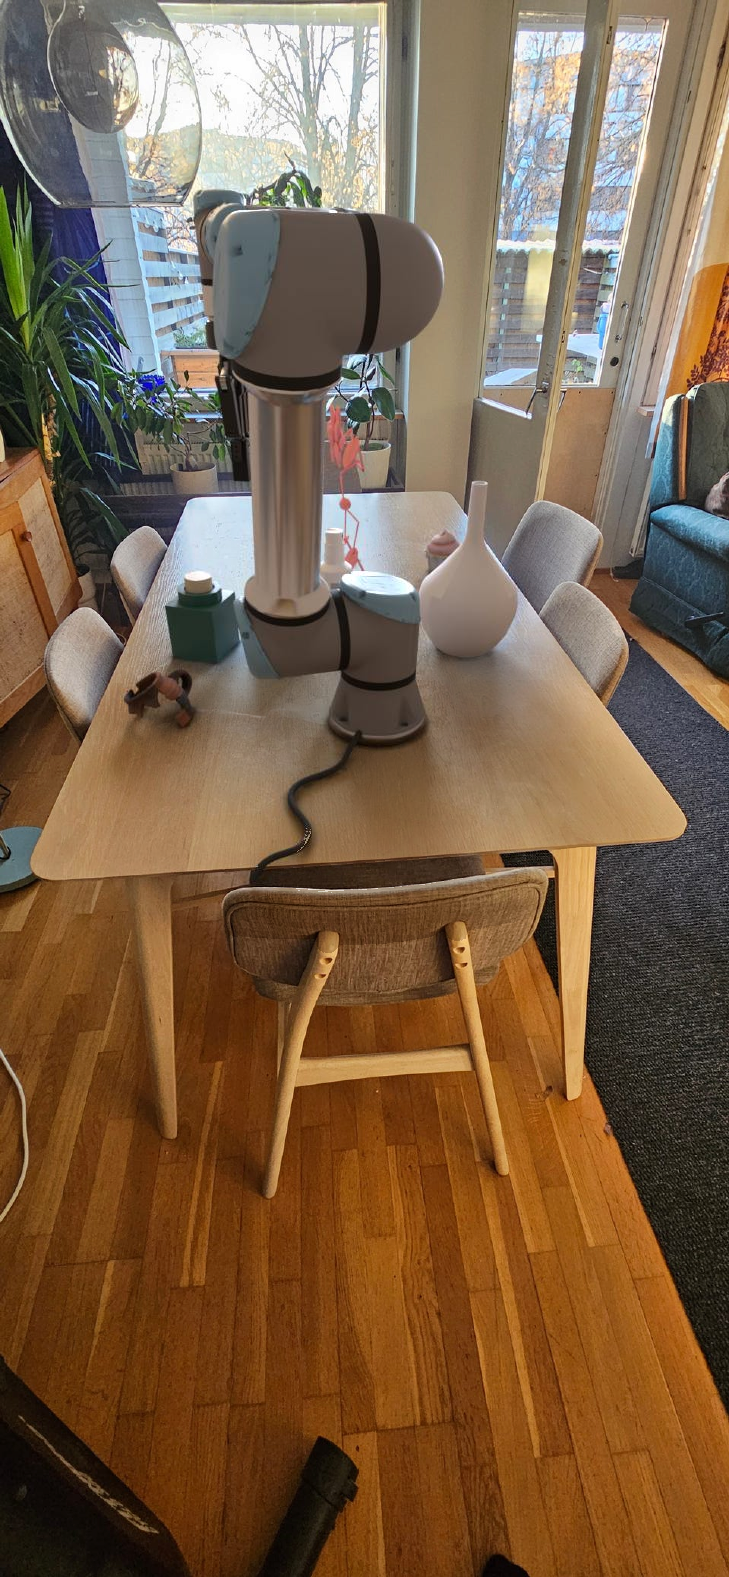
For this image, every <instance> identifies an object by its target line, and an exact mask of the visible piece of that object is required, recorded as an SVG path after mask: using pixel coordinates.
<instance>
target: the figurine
mask: <svg viewBox="0 0 729 1577" xmlns="http://www.w3.org/2000/svg"><path fill="white" fill-rule="evenodd" d="M329 415H330V417H329V418H330V419H329V420H328V421H327V423H326V428H327V429H326V430H327V433H326V435H327V439H328V442H329V444H330V445H329V446H330V447H329V448H330V451H329V453H330V460H331V463H332V464H334V463H335V462H336V464H337V467H338V469H341V467H342V466H343V468H344V469H342V470H341V471H339V472H340V473H339V474H338V475H339V480H340V482H339V483H340V489H341V496H342V498H341V499H340V500H339V501H338V502H339V504H338V505H339V507H340V509H341V510H342V511H344V534H343V539H344V547H345V546H346V545H347V548H348V549H349V550H348V552H347V553H346V554H345V561H346V562H348V563H349V564H350V565H351V566H352V570H353V569H354V568H355V566H356V564H357V565H358V566H359V568H360V571H365V569H364V567H363V565H362V563H361V561H360V558H359V550H358V548H357V547H356V541H357V536H358V532H359V526H360V521H359V520H358V519H357V518H356V516H354V514H353V513H352V512H351V511H350V508H351V506H352V502H351V500H350V499H349V498H348V497H345V495H344V494H345V493H344V483H343V474H345V473H346V472H347V471H349V470H350V469H351V468H353V467H355V466H357V467H358V469H360V471H361V472H362V473H365V466H364V460H363V456H362V450H361V446H360V445H361V443H360V442H361V441H360V440H359V439H360V437H359V436H358V435H355V436H354V433H353V432H354V428H349V430H348V431H346V432H345V433H344V431H343V428H342V414H341V408H340V406H339V405H336V408H335V407H334V405H333V403H332V402H331V403H330V405H329ZM349 435H350V441H349V442H348V440H347V437H348V436H349ZM345 446H346V447H345ZM343 450H344V452H343V455H342V451H343ZM357 456H358V458H359V459H358V458H357ZM347 513H348V514H349V515H350V516H351V517H352V518H353V519H354V520H355V522H356V530H355V533H354V534H355V535H354V540H353V546H351V544H350V542H349V538H350V535H347Z"/></svg>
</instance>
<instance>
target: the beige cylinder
mask: <svg viewBox="0 0 729 1577" xmlns="http://www.w3.org/2000/svg"><path fill="white" fill-rule="evenodd" d="M183 581H184V583H185V588H186V592H188V593H205V592H209V591H212V590H213V585H212V581H213V577H212V574H211V572H208V571H204V570H195V571H190V572H187V573H186V574H184V575H183Z"/></svg>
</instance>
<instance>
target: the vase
mask: <svg viewBox="0 0 729 1577" xmlns="http://www.w3.org/2000/svg"><path fill="white" fill-rule="evenodd" d="M488 485H489V484H488V482H487V481H484V480H474V481H472V482H471V488H470V494H469V501H468V502H469V504H468V511H467V520H466V530H465V535H464V537H463V540H462V541H461V542H460V543H459V545H460V546H459V547H458V548H457V549H456V550H455V551H454V552H453V553H452V554H451V555H450V556H449V557H448V558H447V559H446V560H445V561H444V562H443V563H442V564H441V565H440V566H438V567H437V568H436V569H435V570H434V571H433V572H431V573H430V572H429V574H428V575H426V576H425V577H424V579H423V580H422V581H421V584H420V588H419V591H418V593H419V597H420V617H421V621H420V622H421V624H422V628H423V630H424V631H425V633H426V635H427V637H428V638H429V640H430V641H431V643H432V644H433V645H434V646H435V647H436V648H437V649H438V650H440V651H441V652H442V653H444V654H446V655H449V656H452V657H459V658H476V657H479V656H483V655H485V654H487V653H488V652H490V651H492V650H493V649H494V648H495V647H497V645H499V643H500V642H501V641H502V640H503V639H504V638H505V637H506V635H507V633H508V631H509V629H510V627H511V625H512V623H513V622H514V619H515V618H516V615H517V611H518V606H519V596H518V595H519V594H518V588H517V584H515V582H514V581H513V580H512V579H511V578H510V576H509V575H508V574H507V573H506V572H505V570H504V569H503V567H501V565H500V564H499V562H498V561H497V560H496V559H495V557H494V555H493V554H492V553H491V551H490V550H489V549H488V547H487V544H486V541H485V538H484V528H485V519H486V508H487V496H488Z"/></svg>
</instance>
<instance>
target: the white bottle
mask: <svg viewBox="0 0 729 1577" xmlns="http://www.w3.org/2000/svg"><path fill="white" fill-rule="evenodd" d="M324 537H325V539H324V542H323V545H324V546H323V548H324V549H323V550H324V551H323V561H320V576H321V577H322V578H323V579H325V581H326V582H327V583H328V585H329V588H330V590H332V589H339V582H340V580H341V578H342V577H343V576H344V575H346V574H349V573H351V572H353V569H352V566H351V565H350V564H349V563H348V562H346V561H345V557H346V553H345V546H344V530H343V529H342V528H339V527H329V528H328V529H327V530H326V531H325V532H324Z"/></svg>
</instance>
